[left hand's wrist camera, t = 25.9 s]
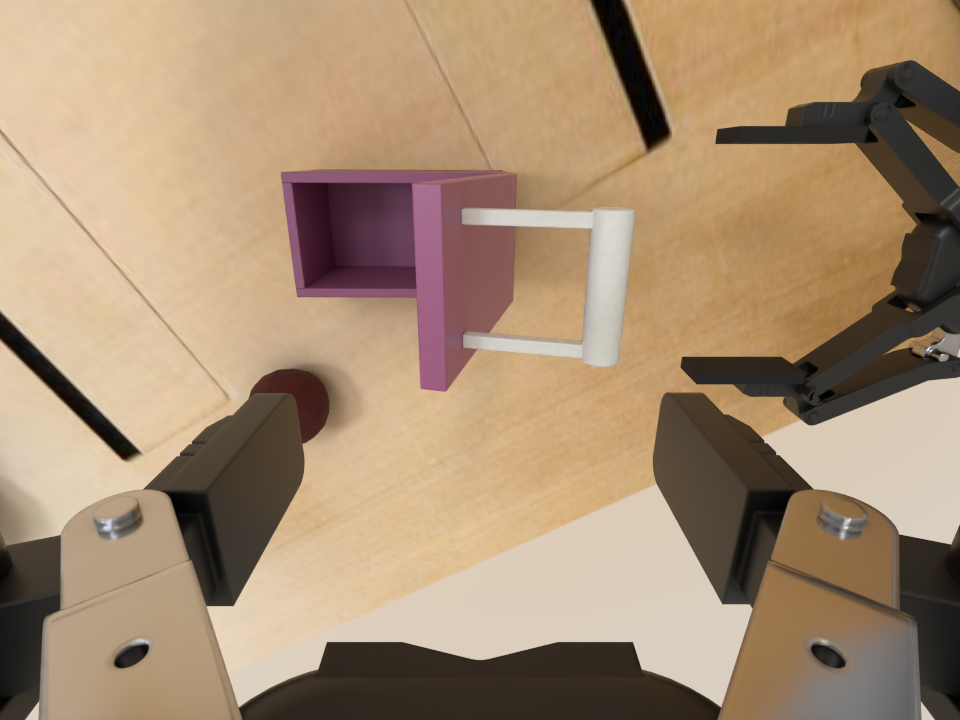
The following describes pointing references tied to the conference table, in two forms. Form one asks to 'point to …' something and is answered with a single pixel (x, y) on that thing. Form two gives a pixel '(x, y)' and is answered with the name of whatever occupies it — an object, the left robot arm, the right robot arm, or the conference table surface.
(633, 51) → the conference table surface
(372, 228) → the chest
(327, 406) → the potato
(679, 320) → the conference table surface
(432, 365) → the lid
